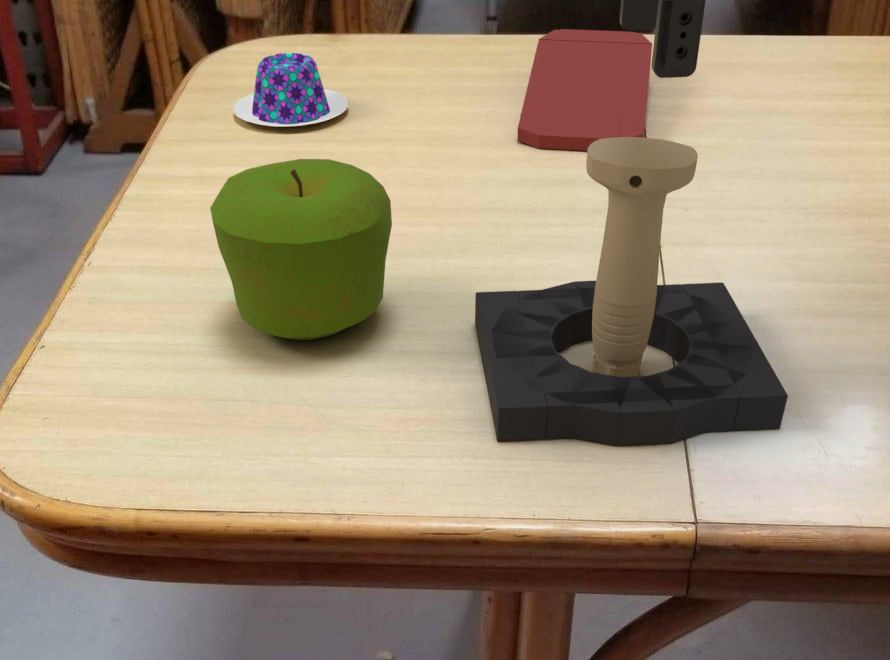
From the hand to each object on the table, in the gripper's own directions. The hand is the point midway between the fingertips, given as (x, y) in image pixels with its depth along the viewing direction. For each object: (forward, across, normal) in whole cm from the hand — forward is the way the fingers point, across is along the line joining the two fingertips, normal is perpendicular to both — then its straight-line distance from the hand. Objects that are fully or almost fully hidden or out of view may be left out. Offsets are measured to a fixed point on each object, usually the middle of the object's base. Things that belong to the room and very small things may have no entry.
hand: (654, 50), depth 59 cm
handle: (+21, 0, 0) cm, 21 cm away
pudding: (+21, +53, +24) cm, 62 cm away
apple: (+21, +9, +21) cm, 31 cm away
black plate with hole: (+21, 0, 0) cm, 21 cm away
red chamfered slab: (+21, +52, -7) cm, 57 cm away
